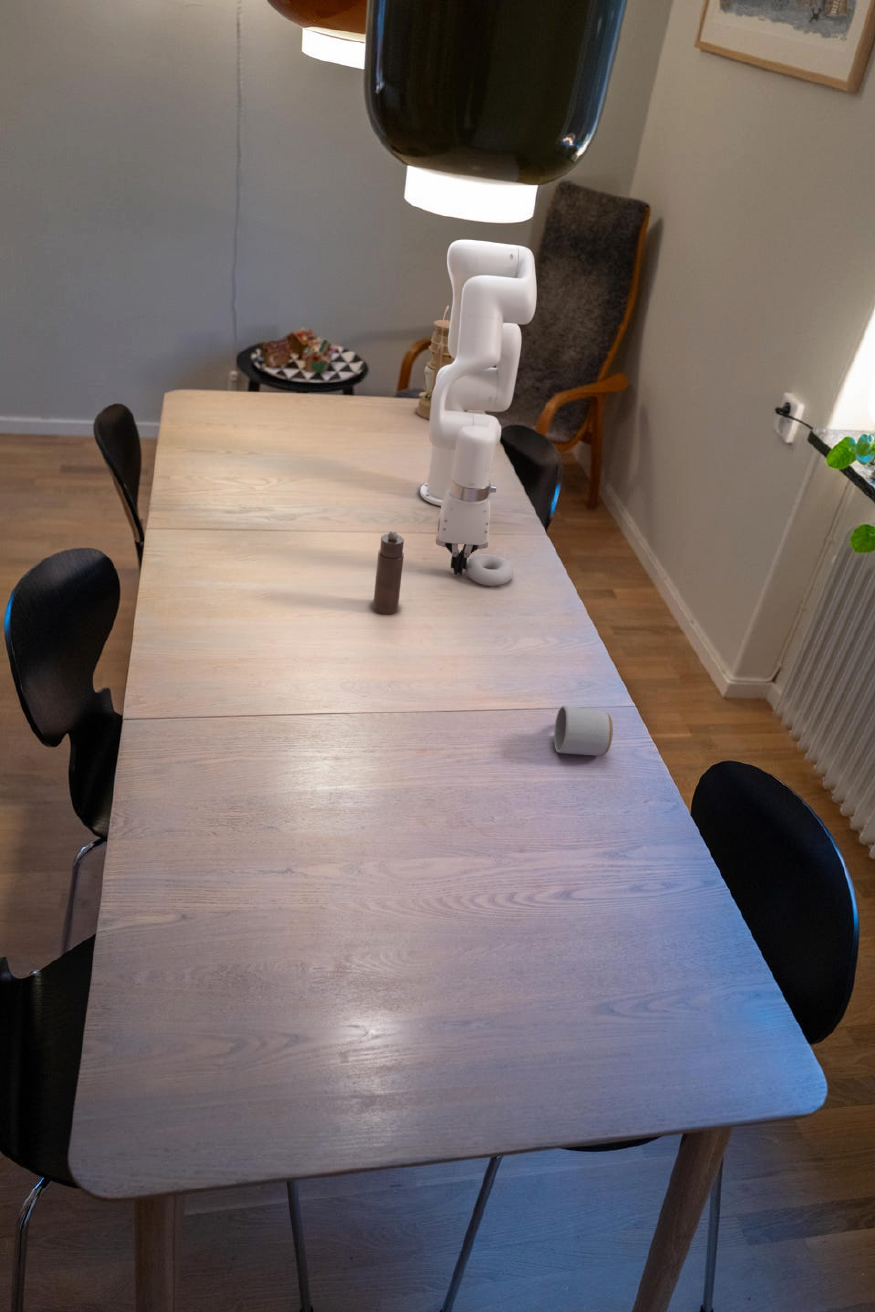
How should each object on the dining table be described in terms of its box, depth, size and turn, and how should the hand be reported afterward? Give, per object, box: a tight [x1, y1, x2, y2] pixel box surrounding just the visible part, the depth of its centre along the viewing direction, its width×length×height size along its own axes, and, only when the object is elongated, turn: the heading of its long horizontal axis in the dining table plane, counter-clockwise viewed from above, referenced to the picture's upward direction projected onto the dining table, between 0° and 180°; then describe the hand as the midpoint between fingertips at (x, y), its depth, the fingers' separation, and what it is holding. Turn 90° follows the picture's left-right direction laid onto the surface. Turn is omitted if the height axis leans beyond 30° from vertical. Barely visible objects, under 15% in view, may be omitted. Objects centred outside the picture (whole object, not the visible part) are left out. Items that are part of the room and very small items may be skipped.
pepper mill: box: [372, 530, 405, 615], centre depth 188 cm, size 5×5×16 cm
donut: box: [465, 553, 514, 587], centre depth 207 cm, size 10×4×10 cm
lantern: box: [416, 305, 454, 420], centre depth 275 cm, size 15×10×30 cm
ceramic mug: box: [553, 705, 614, 757], centre depth 162 cm, size 11×8×8 cm
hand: (457, 571), depth 206 cm, fingers closed
